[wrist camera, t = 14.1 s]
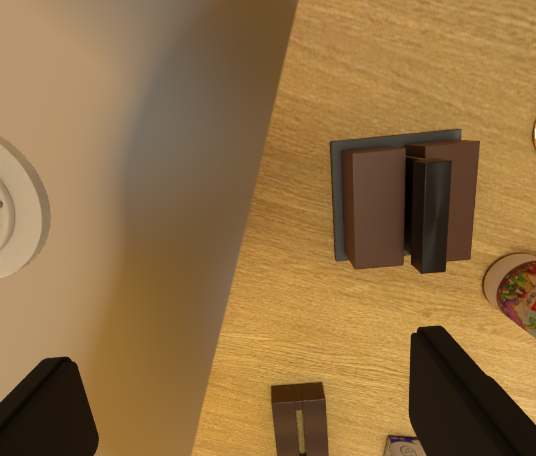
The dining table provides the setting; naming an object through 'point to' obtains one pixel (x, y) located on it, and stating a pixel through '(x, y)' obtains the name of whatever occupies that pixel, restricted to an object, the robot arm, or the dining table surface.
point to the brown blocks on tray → (396, 195)
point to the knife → (427, 212)
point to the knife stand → (313, 418)
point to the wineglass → (534, 135)
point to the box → (403, 447)
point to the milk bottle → (514, 289)
